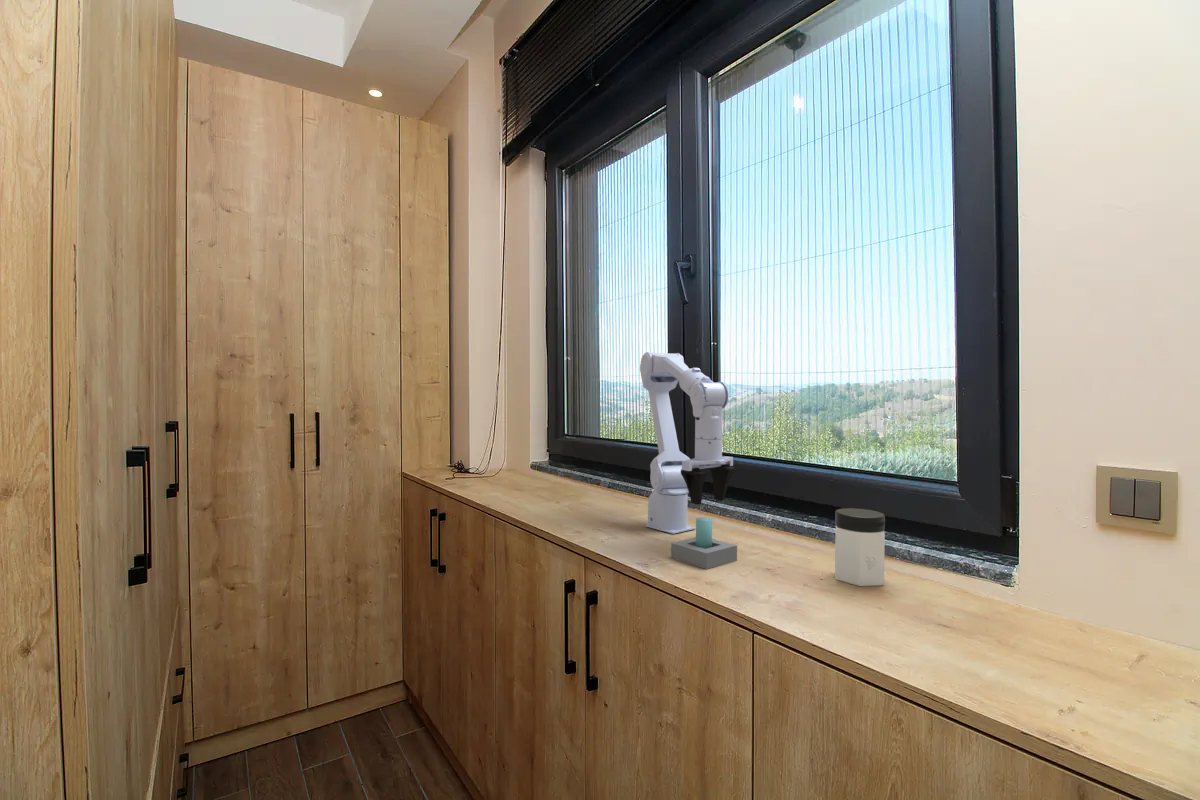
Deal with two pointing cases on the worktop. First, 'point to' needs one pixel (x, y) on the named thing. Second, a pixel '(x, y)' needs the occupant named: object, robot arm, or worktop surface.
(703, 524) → the peg
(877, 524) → the jar
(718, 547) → the socket block
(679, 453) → the robot arm
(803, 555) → the worktop surface
